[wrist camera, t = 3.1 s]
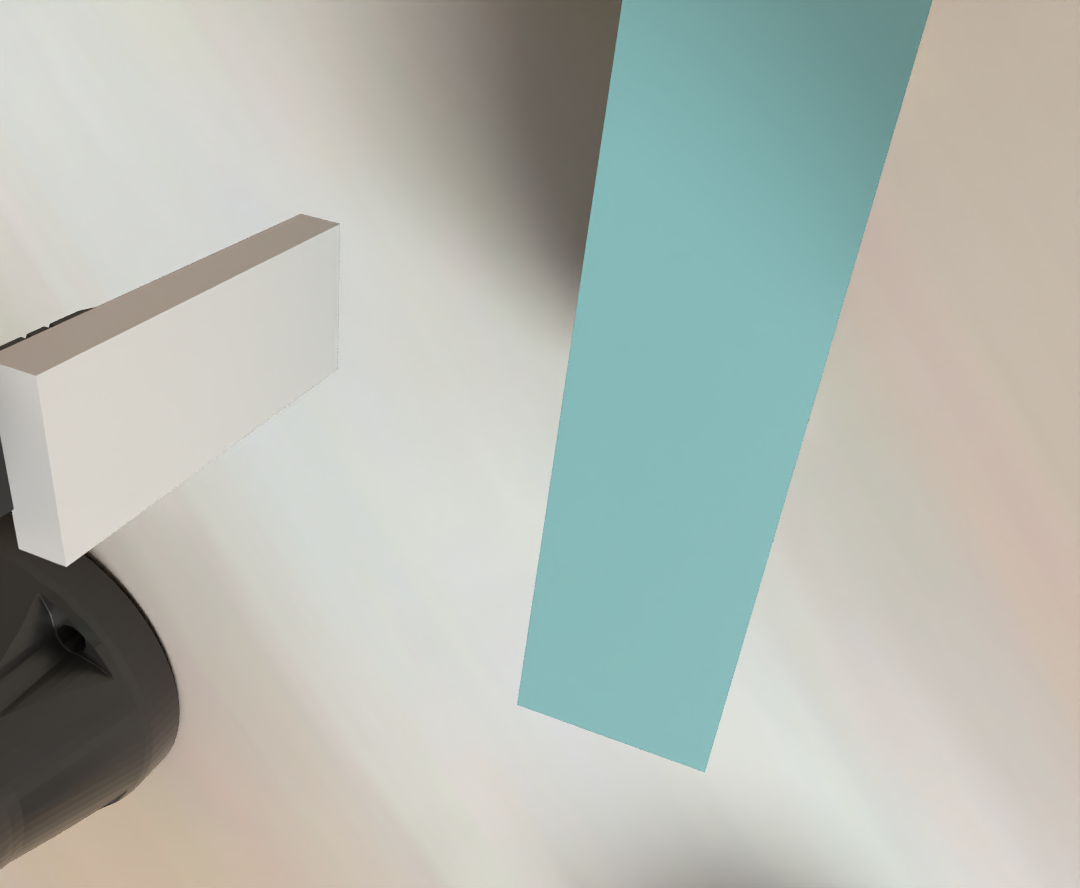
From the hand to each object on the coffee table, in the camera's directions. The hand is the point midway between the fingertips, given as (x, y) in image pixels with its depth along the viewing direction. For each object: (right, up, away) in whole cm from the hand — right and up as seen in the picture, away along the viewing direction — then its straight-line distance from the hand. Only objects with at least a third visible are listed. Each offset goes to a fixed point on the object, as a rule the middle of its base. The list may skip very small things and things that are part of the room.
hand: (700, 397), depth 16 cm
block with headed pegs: (+4, +5, +10) cm, 12 cm away
